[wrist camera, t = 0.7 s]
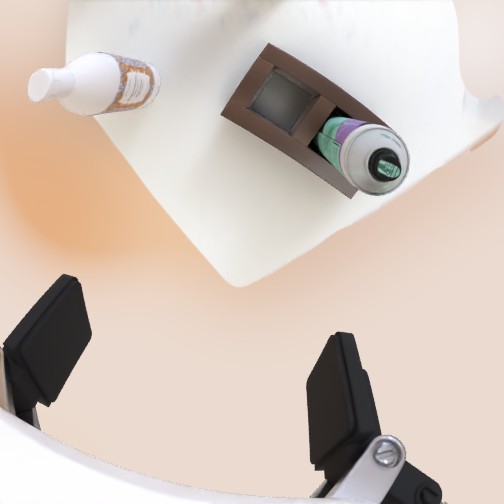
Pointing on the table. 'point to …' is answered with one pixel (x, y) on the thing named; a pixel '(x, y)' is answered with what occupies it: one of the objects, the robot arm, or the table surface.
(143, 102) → the bath foam
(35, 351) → the robot arm
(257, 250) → the table surface
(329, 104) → the rack
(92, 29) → the table surface
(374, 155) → the spray can
